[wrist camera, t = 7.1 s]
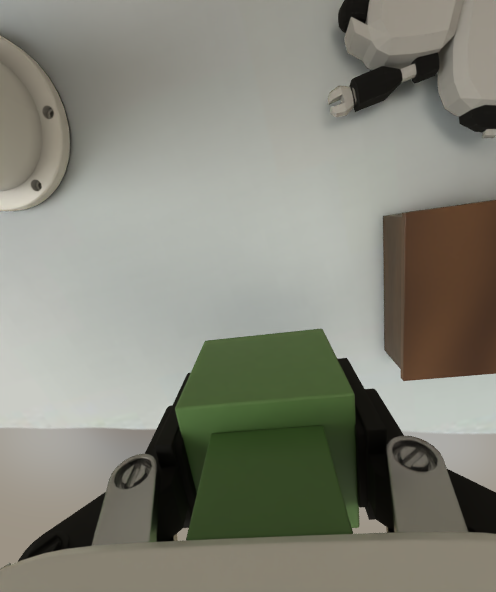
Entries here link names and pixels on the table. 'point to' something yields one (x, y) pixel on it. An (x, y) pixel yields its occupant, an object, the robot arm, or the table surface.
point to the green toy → (270, 438)
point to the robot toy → (423, 54)
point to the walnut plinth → (441, 291)
